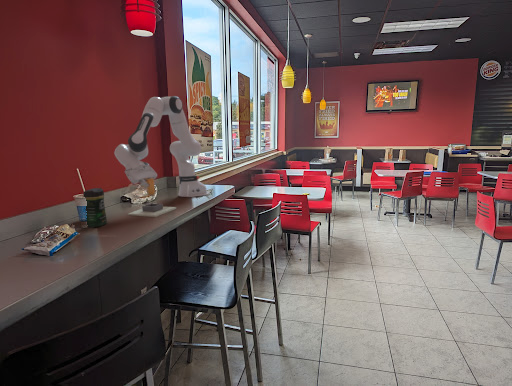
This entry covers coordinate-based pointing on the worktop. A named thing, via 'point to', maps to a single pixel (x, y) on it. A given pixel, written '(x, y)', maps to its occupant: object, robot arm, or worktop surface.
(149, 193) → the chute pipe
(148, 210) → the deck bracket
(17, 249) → the worktop surface
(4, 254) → the worktop surface
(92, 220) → the coffee jar
